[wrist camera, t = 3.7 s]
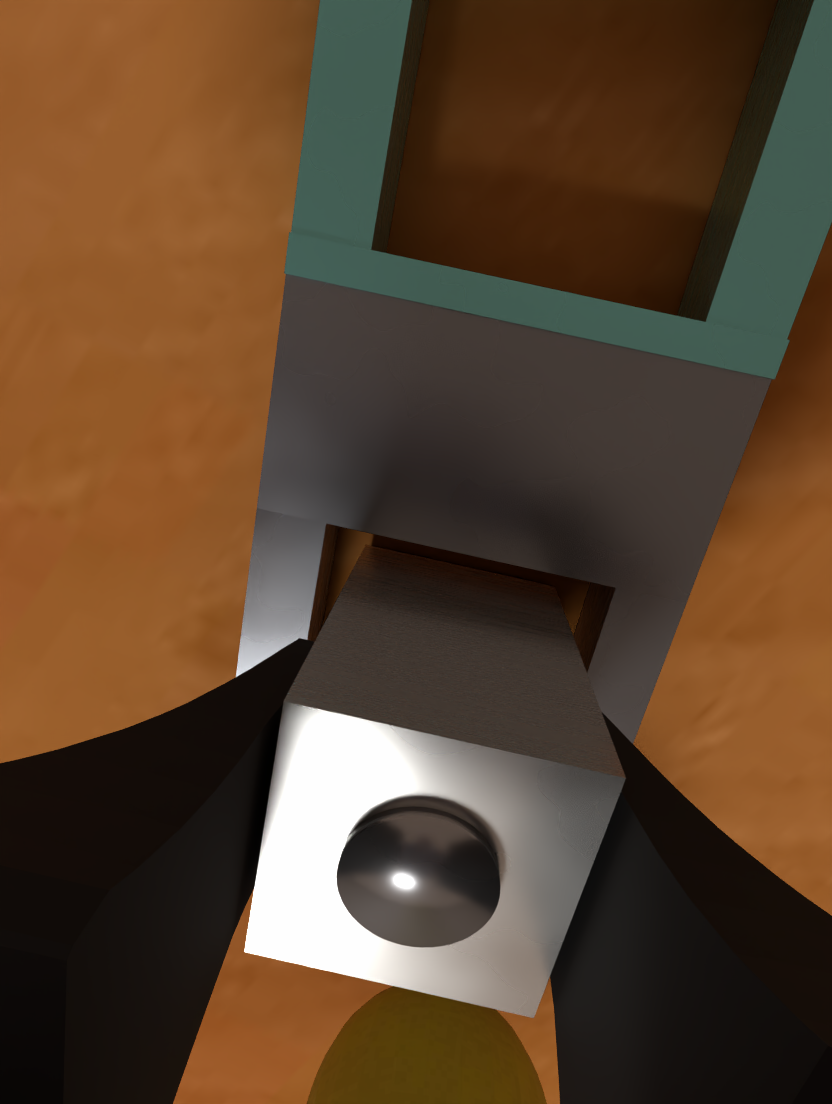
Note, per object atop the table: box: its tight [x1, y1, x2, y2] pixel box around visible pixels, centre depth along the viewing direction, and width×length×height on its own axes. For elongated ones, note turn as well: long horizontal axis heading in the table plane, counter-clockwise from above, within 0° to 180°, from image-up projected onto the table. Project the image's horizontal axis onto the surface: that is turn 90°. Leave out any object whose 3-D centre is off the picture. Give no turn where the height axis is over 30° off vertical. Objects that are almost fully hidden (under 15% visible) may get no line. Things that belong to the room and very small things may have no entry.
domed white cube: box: [245, 545, 626, 1018], centre depth 10 cm, size 4×4×6 cm
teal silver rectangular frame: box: [236, 0, 832, 744], centre depth 11 cm, size 8×20×2 cm, turn 168°
